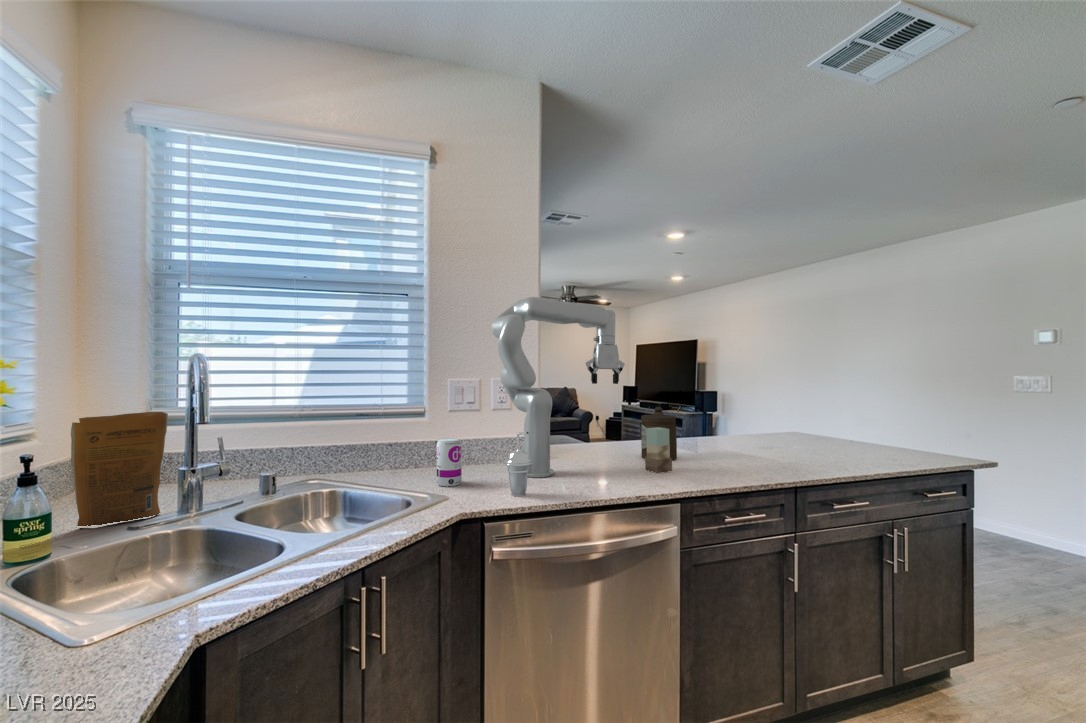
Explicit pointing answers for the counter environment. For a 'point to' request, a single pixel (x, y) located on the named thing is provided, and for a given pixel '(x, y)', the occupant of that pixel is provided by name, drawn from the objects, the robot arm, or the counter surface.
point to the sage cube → (657, 436)
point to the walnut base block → (658, 465)
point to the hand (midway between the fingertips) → (605, 383)
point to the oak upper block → (658, 452)
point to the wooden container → (663, 422)
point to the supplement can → (449, 462)
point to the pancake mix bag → (117, 466)
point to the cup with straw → (518, 470)
